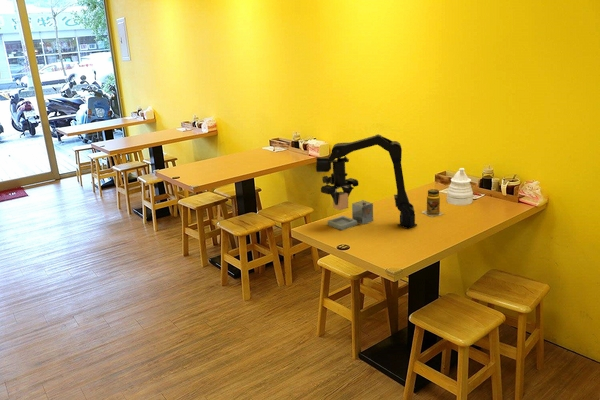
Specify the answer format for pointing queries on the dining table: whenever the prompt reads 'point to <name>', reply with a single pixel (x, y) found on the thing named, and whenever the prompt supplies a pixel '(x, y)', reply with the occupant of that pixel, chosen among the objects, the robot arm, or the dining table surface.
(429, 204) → the condiment
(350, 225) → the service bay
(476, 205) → the dining table surface
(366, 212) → the junction box
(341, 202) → the block
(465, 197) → the honey pot
